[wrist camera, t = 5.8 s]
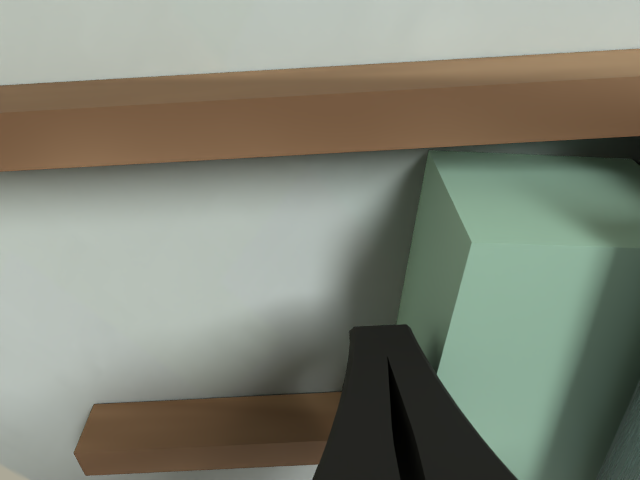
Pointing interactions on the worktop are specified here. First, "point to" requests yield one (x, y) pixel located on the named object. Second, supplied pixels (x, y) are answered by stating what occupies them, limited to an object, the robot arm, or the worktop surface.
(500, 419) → the sage block
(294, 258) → the worktop surface
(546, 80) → the guide bay
